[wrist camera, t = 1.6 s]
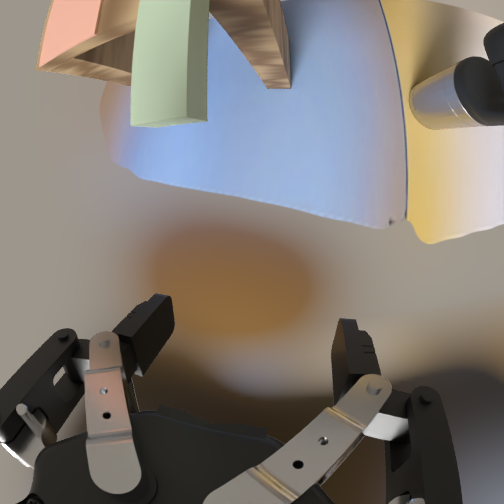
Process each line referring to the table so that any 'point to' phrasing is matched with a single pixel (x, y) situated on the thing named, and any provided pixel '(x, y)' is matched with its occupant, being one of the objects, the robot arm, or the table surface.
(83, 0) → the card
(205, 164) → the table surface
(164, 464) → the robot arm
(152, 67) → the pale green bar
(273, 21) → the oak bridge
